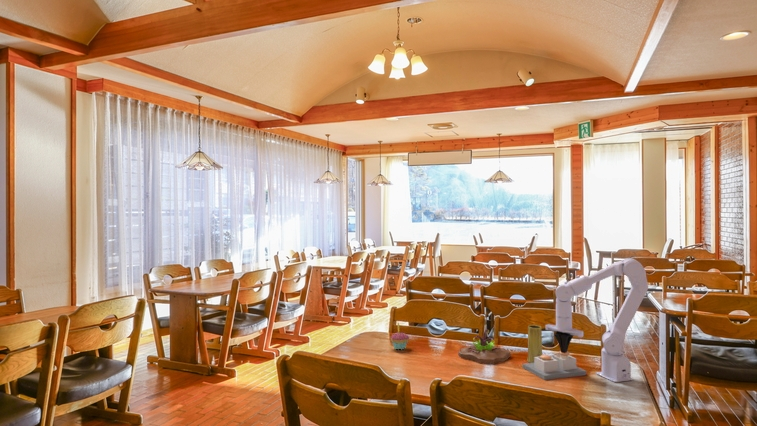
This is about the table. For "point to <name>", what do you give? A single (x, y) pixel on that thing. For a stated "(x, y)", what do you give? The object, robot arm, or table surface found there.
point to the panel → (554, 368)
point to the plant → (484, 351)
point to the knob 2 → (564, 355)
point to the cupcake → (399, 339)
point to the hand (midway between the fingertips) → (564, 352)
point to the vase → (534, 342)
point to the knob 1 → (545, 357)
